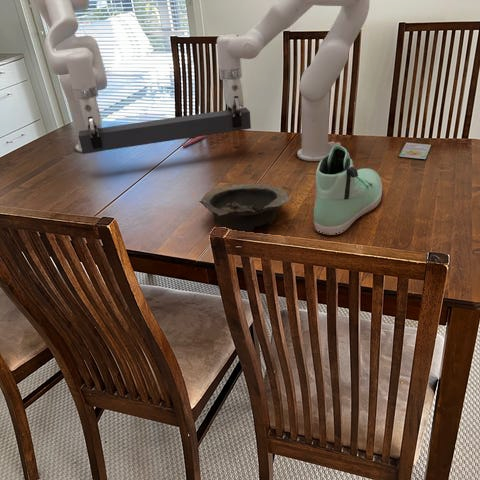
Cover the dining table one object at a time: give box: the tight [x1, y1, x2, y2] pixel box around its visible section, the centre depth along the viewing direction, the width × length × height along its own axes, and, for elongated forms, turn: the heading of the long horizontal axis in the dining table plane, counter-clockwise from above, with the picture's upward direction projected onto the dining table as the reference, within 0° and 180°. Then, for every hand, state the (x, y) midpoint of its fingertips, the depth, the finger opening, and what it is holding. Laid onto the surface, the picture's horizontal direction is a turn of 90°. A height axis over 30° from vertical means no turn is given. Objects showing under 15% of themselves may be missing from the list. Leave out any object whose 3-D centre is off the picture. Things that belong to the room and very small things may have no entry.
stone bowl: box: [198, 183, 290, 233], centre depth 135 cm, size 25×25×9 cm
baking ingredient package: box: [398, 142, 432, 160], centre depth 172 cm, size 9×1×15 cm
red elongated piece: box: [182, 135, 206, 148], centre depth 197 cm, size 6×15×2 cm, turn 145°
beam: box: [79, 107, 252, 155], centre depth 170 cm, size 60×6×6 cm, turn 104°
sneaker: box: [313, 145, 383, 236], centre depth 133 cm, size 14×35×20 cm, turn 152°
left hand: (97, 144), depth 167 cm, fingers closed on beam, 5 cm apart
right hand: (234, 124), depth 175 cm, fingers closed on beam, 5 cm apart
